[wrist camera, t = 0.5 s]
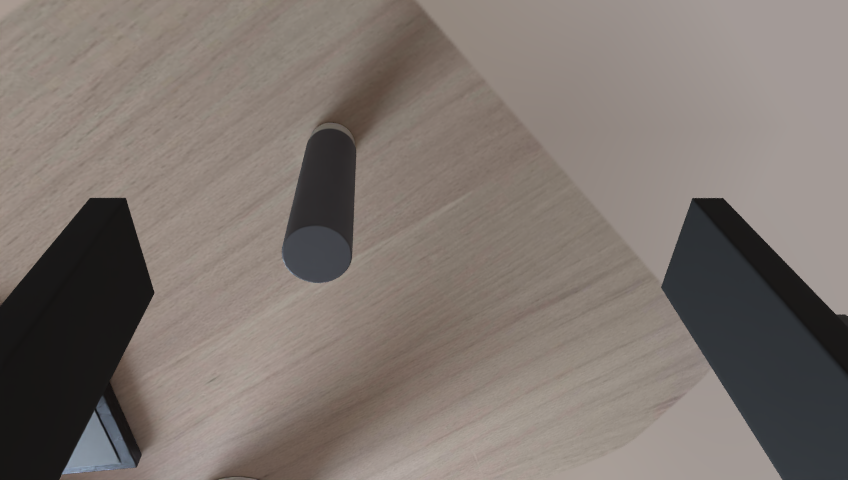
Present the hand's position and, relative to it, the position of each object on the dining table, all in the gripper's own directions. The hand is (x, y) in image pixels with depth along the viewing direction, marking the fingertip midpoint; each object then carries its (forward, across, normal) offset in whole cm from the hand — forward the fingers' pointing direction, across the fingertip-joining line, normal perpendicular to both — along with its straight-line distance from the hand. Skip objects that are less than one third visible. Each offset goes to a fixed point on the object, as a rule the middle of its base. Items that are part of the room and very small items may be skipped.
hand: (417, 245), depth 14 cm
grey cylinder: (+20, -4, -6) cm, 21 cm away
